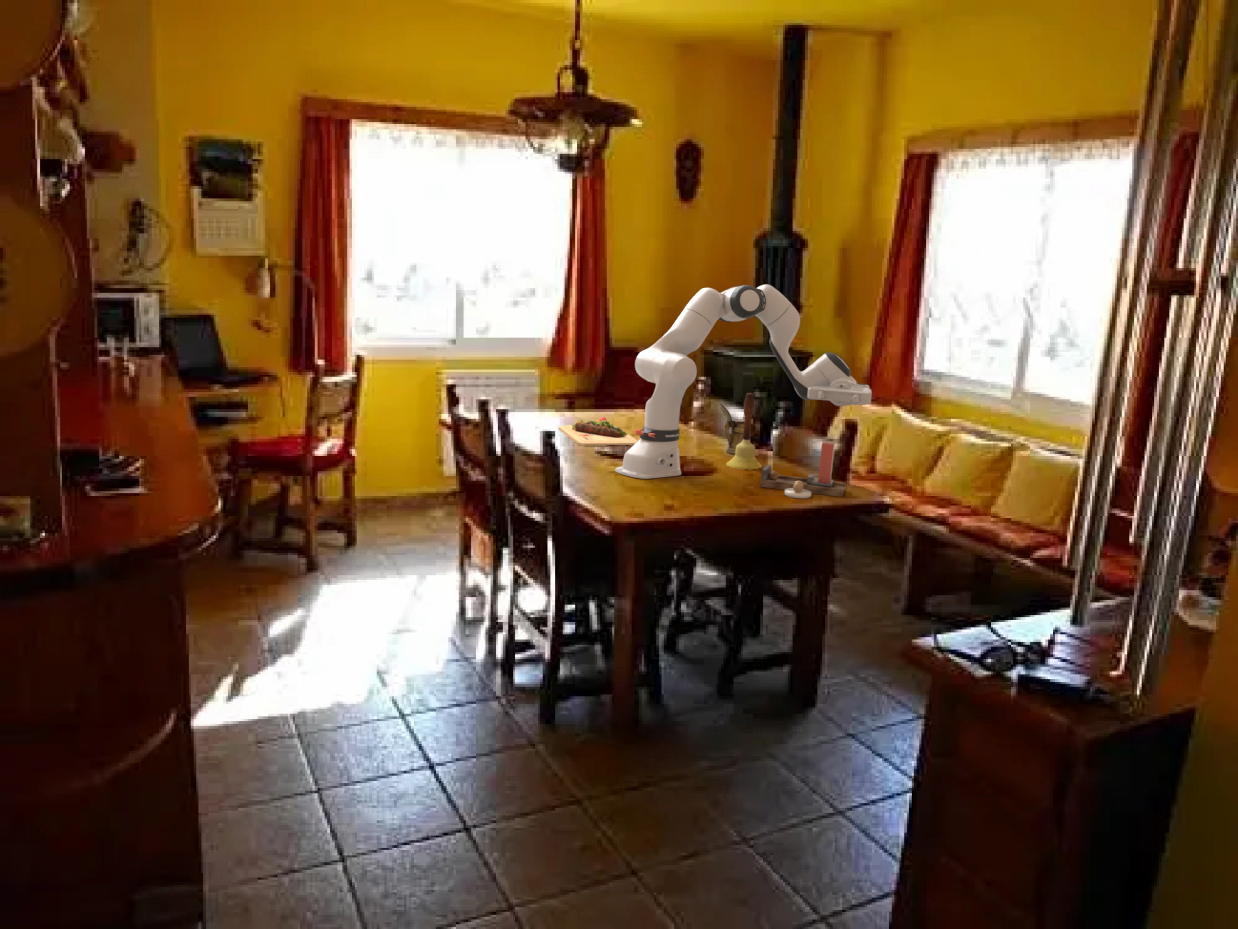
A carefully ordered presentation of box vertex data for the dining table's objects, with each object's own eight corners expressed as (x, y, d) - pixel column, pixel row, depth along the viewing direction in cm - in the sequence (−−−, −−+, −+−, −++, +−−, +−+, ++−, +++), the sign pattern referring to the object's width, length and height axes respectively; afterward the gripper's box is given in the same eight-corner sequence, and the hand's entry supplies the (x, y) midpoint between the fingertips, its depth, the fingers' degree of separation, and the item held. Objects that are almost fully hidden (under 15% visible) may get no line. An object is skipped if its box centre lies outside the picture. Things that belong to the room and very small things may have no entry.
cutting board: (557, 429, 381) (557, 411, 379) (613, 429, 388) (614, 411, 386) (580, 448, 348) (581, 427, 347) (641, 447, 355) (642, 427, 354)
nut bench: (760, 486, 301) (761, 470, 300) (765, 480, 310) (767, 464, 309) (841, 496, 294) (843, 480, 292) (844, 489, 303) (846, 473, 302)
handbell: (752, 461, 338) (758, 390, 333) (768, 469, 327) (774, 396, 321) (720, 462, 334) (725, 390, 329) (735, 470, 323) (741, 396, 317)
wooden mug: (711, 450, 353) (714, 401, 349) (744, 450, 357) (748, 402, 353) (721, 455, 345) (725, 405, 341) (755, 455, 349) (759, 406, 345)
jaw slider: (806, 486, 298) (810, 443, 295) (809, 482, 304) (813, 439, 301) (830, 489, 296) (835, 445, 293) (833, 484, 302) (837, 442, 299)
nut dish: (801, 499, 287) (802, 486, 286) (779, 494, 293) (780, 480, 292) (816, 496, 293) (817, 482, 292) (794, 490, 298) (795, 477, 297)
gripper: (810, 380, 321) (804, 385, 308) (874, 385, 315) (870, 390, 302) (809, 399, 322) (803, 404, 309) (872, 404, 316) (868, 410, 303)
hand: (837, 397), depth 305 cm, fingers open, 8 cm apart
